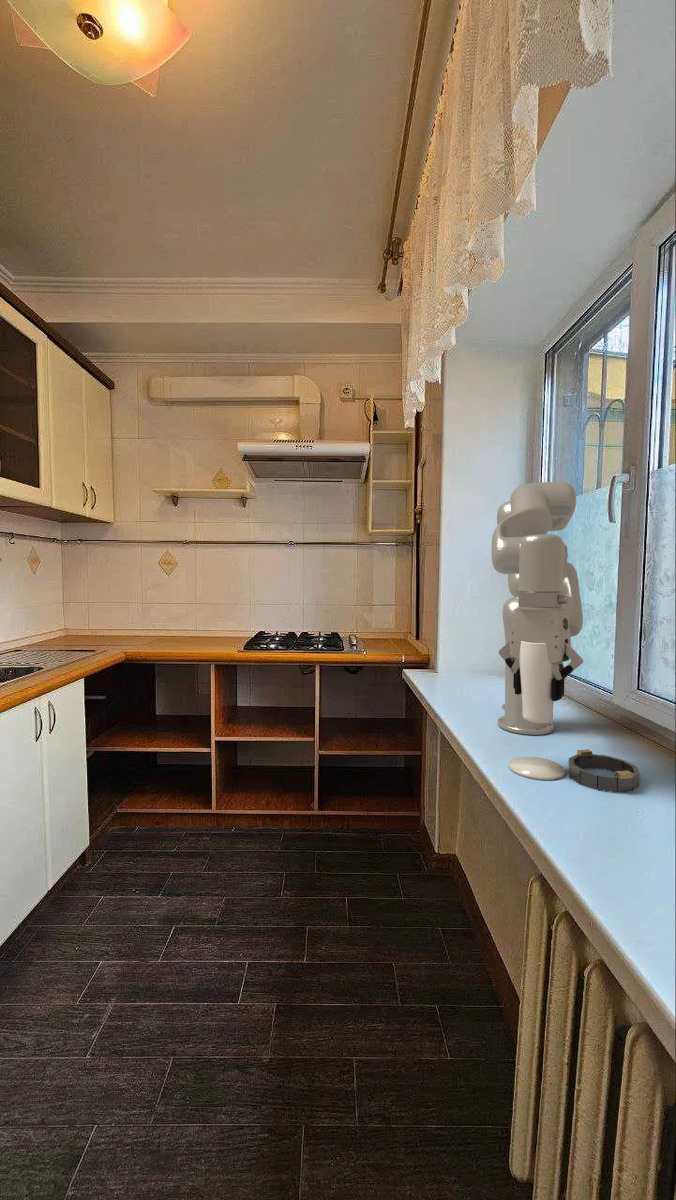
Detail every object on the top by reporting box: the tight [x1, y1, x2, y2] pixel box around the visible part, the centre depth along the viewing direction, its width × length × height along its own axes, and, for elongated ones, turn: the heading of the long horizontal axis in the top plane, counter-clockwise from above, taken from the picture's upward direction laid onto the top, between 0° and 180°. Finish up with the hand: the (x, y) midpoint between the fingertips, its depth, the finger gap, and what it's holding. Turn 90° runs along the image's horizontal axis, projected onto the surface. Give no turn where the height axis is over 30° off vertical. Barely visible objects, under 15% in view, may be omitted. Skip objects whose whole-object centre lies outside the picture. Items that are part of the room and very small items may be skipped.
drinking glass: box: [519, 641, 555, 723], centre depth 95 cm, size 7×7×15 cm
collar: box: [567, 748, 641, 793], centre depth 92 cm, size 12×11×3 cm
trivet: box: [508, 756, 566, 781], centre depth 96 cm, size 10×10×1 cm
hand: (537, 695), depth 95 cm, fingers closed on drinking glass, 6 cm apart
